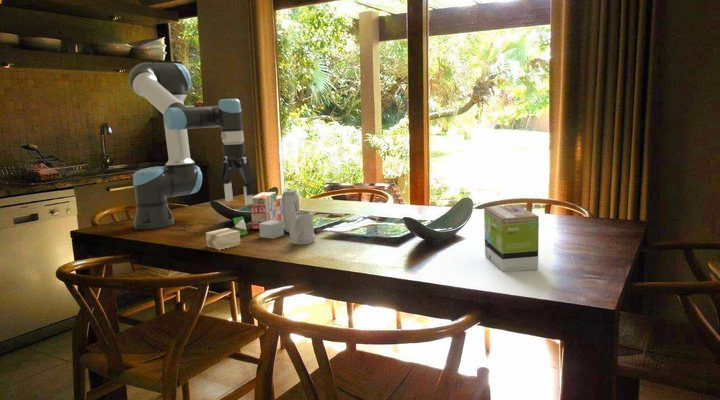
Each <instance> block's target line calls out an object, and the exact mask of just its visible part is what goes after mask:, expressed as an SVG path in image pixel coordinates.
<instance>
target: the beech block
mask: <svg viewBox="0 0 720 400" xmlns="http://www.w3.org/2000/svg"><path fill="white" fill-rule="evenodd" d="M205 238H206V239H205V240H206V247H207V246H208V247H207V248H210V247H211V248H210V249H213V248H215V249H214V250H217V249H218V250H217V251H222V250H221V249H223V250H226V249H225V248H227V249H230V247H231V248H234V246H235V247H238V245H239V246H241V236H240V231H237V230H236V229H234V228H233V229H230V228H228V227H226V228H225V227H224V228H220V229H216V230H212V231H207V232H205Z"/></svg>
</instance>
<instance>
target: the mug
mask: <svg viewBox="0 0 720 400" xmlns="http://www.w3.org/2000/svg"><path fill="white" fill-rule="evenodd" d="M294 212H295V211H293V210H291V219H290V229H289V232H288V233H289V238H290V240H291V242H292V244H295V245H301V246H302V245H309V244H313V243H314V242H315V241H316V240H315V239H316V234H315V229H314V224H315V221H314V219H313V213H312V211H306V210H304V211H300V212H295V213H294Z"/></svg>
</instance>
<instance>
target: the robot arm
mask: <svg viewBox="0 0 720 400" xmlns="http://www.w3.org/2000/svg"><path fill="white" fill-rule="evenodd" d="M128 84H129V87H130V88H131V90H132V91H133V92H134V94H136V95H138V96H139V97H142V98H145V100H147V101H148V102H149V103H150V104H151V105H152V106H154V107H155V108H156V109H157V110H158V111H159V112H160V113H161V114H162V117H163V124H164V132H165V140H166V147H167V148H166V149H167V155H168V156H167V157H168V161H167V162H166V163H165V168H164V167H163V166H151V167H147V168H143V169H139V170H136V171H134V173H133V175H132V179H133V183H132V185H133V189H134V196H135V198H134V199H135V204H136V212H135V215H134V220H133V227H134V229H135V230H156V229H161V228H167V227H169V226H172V225H174V224H175V218H174V215H173V214H172V212H171V210H170V207H169V205H168V199H167V198H173V197H178V196H180V197H181V196H189V195H192V194H195V193H198V191H200V190H201V186H202V184H203V183H202V182H203V173H202V171H201V167H199V166H198V165H196V164H195V163H196V162H195V161H194V160H193V159H192V158H191V153H190V144H189V136H188V130H192V129H193V130H194V129H207V128H208V129H209V128H220V132H221V135H220V137H221V141H222V143H223V145H222V154H223V156H222V158H221V169H220V170H221V171H220V176H219V181H220V183H221V182H222V184H223V189H224V197H225V198H224V199H225V202H233V201H234V195H233V187H232V186H233V185H232V178H233V175H234V173H235V171H236V172H237V173H238V175H239V178H240V179H241V181H242V183H243V187H242V188H243V199H244V205H245V206H248V205H249V206H251V205H250V204H253V199H252V197H253V189H252V188H253V187H252V186H253V185H255V184H256V181H255V178H254V175H253V173H252V169H251V166H250V163H249V157H247V156H245V157H243V155H245V154H246V147H245V144H244V142H245V138H244V137H245V136H244V129H243V128H244V125H243V114H242V113H243V111H242V107H241V101H240V100H239V99H238V98H225V99H219V100H218V103H217V104H218V105H212V106H210V105H209V106H186V104H185V102H184V101H185V99H186V97H187V96H188V95H187V93H188V92H190V90H191V87H192V79H191V75H190V72H189V71H188V69H187V68H186V66H185V65H183V64H182V63H176V62H149V61H148V62H147V61H145V62H141V63H138V64H136V65H134V67H132V69H131V70H130V72H129V74H128Z"/></svg>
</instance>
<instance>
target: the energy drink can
mask: <svg viewBox="0 0 720 400" xmlns="http://www.w3.org/2000/svg"><path fill="white" fill-rule="evenodd" d="M281 195H282V204H283V218H284V219H283V226H284V231H285V232H286V233H289V229H290V219H291V210H293V211H295V212H301V211H300V210H301V209H300V198H299V197H300V196H299V193H298V190H297V189H285V190H283V193H282V194H281ZM295 212H294V213H295Z"/></svg>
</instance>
